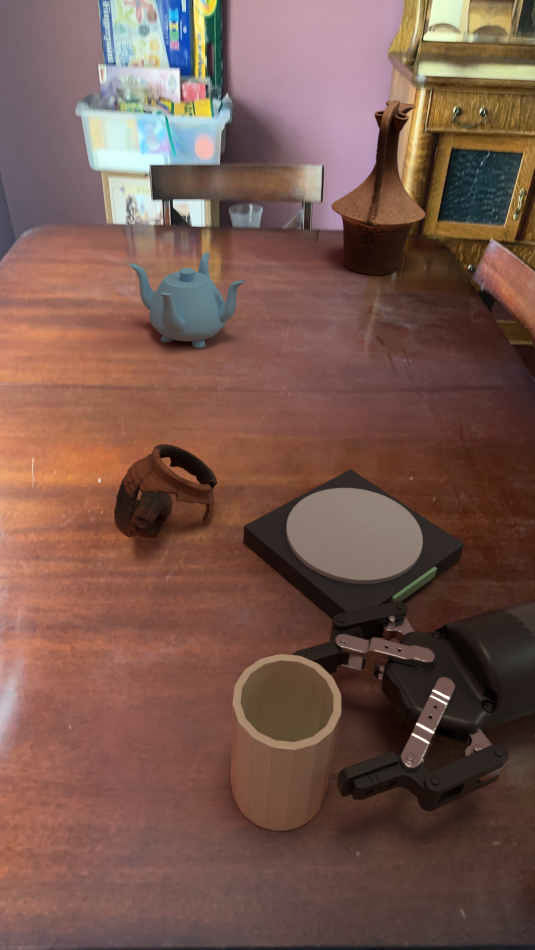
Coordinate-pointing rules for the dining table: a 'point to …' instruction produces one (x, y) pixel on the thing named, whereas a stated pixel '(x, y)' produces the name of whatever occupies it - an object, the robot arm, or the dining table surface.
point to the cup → (283, 740)
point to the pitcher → (379, 204)
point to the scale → (352, 545)
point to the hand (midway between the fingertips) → (312, 724)
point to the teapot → (187, 304)
